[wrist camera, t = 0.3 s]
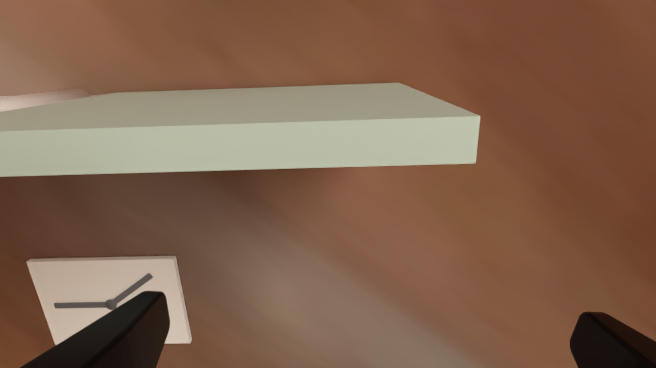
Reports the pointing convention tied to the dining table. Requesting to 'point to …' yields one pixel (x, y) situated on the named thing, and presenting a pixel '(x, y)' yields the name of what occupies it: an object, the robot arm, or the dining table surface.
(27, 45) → the dining table surface
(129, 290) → the card
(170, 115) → the panel
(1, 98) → the fence fixed section
